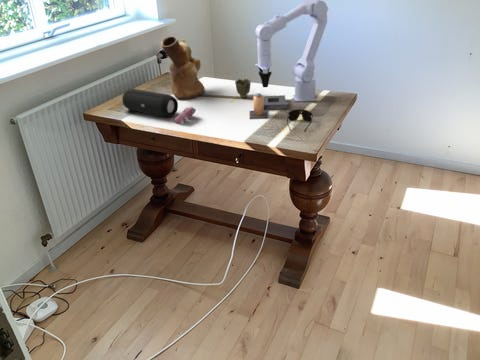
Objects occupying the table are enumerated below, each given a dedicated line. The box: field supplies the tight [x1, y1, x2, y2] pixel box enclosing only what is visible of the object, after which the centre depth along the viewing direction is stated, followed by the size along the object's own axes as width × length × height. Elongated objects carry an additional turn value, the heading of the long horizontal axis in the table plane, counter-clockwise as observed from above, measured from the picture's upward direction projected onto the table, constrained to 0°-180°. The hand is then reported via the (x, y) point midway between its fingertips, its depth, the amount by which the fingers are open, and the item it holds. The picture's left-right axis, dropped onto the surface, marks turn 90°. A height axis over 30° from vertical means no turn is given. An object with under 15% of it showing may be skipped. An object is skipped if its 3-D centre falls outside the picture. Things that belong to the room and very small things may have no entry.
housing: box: [263, 94, 287, 111], centre depth 202 cm, size 11×11×2 cm
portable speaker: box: [121, 88, 179, 118], centre depth 200 cm, size 26×10×10 cm, turn 61°
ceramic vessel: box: [160, 36, 206, 100], centre depth 210 cm, size 16×22×30 cm
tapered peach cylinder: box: [252, 92, 265, 116], centre depth 191 cm, size 4×4×9 cm
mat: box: [249, 110, 269, 120], centre depth 194 cm, size 8×8×1 cm
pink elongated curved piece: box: [174, 106, 197, 124], centre depth 192 cm, size 10×5×7 cm, turn 149°
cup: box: [234, 78, 252, 99], centre depth 211 cm, size 8×7×8 cm
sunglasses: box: [286, 108, 314, 133], centre depth 182 cm, size 10×12×5 cm
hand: (265, 84), depth 197 cm, fingers open, 7 cm apart
